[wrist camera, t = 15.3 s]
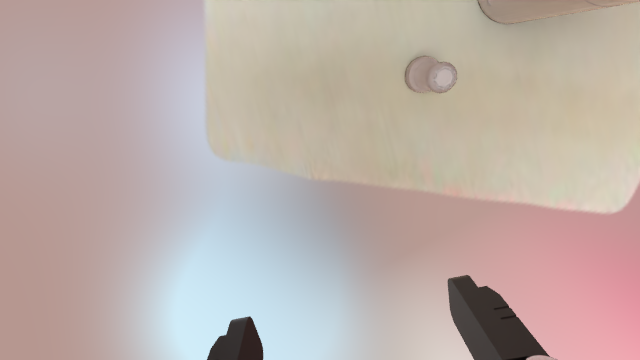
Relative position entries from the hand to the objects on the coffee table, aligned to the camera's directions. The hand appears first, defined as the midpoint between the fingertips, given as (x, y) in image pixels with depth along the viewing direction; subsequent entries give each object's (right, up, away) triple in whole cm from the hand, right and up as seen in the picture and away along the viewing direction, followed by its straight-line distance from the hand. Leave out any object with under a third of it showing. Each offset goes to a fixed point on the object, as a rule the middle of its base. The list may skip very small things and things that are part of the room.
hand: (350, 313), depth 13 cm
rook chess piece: (+12, +19, +28) cm, 36 cm away
